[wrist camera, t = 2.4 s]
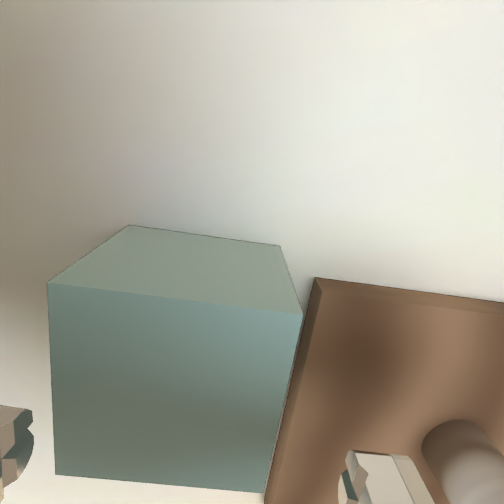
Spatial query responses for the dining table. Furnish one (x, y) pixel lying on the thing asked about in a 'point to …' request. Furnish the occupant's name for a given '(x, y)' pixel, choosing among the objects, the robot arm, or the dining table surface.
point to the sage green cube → (171, 359)
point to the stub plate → (394, 393)
